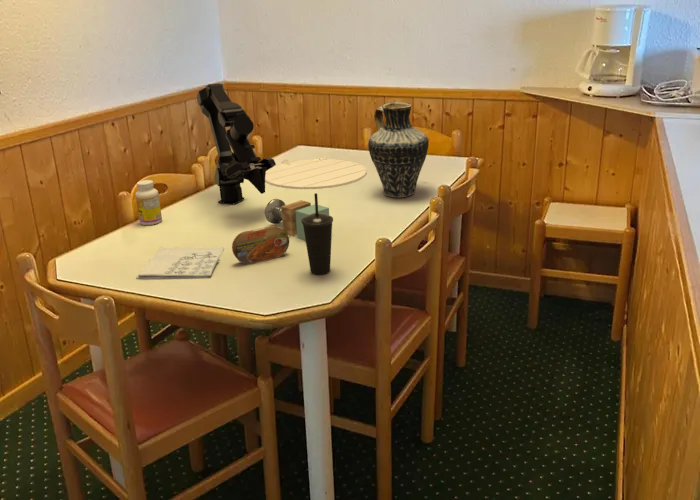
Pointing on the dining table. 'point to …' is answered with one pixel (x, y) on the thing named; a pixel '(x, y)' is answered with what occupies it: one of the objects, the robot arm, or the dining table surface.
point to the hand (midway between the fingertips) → (263, 193)
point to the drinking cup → (318, 240)
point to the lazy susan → (314, 173)
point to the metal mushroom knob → (274, 211)
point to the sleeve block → (292, 216)
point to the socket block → (305, 212)
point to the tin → (260, 244)
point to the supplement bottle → (148, 203)
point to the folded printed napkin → (181, 263)
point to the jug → (397, 149)
